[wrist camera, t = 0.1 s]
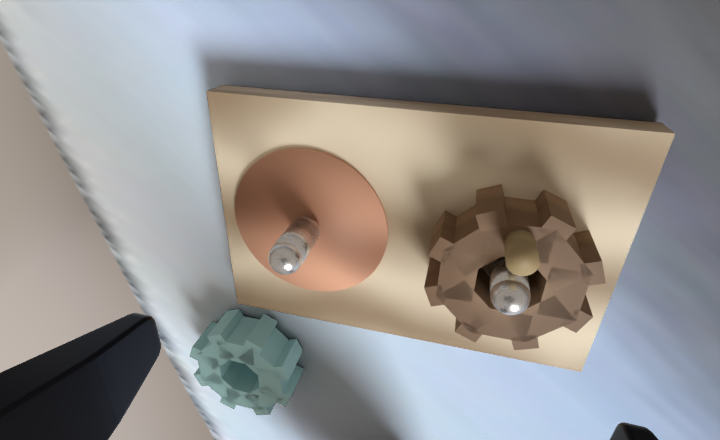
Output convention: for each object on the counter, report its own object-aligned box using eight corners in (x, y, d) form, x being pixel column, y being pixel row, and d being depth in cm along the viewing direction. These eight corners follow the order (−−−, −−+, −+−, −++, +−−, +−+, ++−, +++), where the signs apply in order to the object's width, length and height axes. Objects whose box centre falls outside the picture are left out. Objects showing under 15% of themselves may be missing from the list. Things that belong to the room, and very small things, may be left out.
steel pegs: (520, 271, 21) (527, 326, 17) (296, 235, 23) (263, 278, 20) (527, 242, 20) (536, 295, 17) (294, 209, 22) (260, 249, 19)
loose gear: (305, 394, 32) (292, 424, 30) (218, 373, 33) (199, 400, 31) (301, 321, 28) (286, 348, 26) (203, 301, 30) (182, 326, 28)
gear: (567, 325, 22) (582, 388, 18) (424, 299, 23) (414, 354, 20) (611, 197, 18) (640, 246, 15) (440, 176, 20) (430, 217, 16)
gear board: (576, 351, 24) (581, 374, 23) (248, 288, 28) (235, 305, 27) (661, 122, 18) (677, 135, 16) (222, 84, 22) (203, 92, 20)
